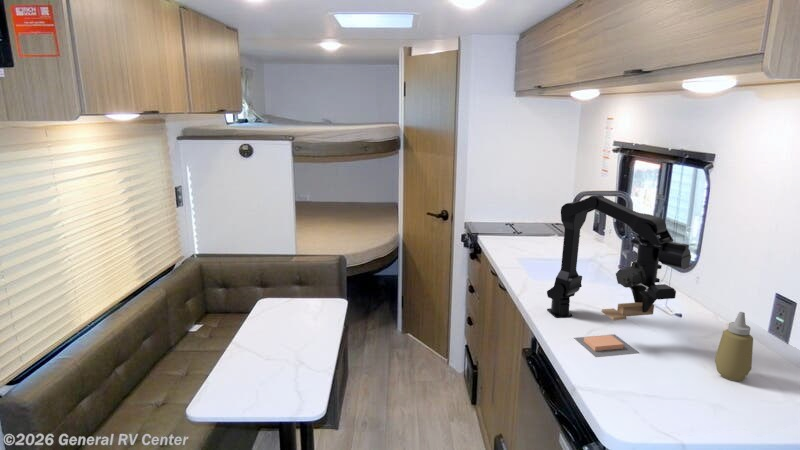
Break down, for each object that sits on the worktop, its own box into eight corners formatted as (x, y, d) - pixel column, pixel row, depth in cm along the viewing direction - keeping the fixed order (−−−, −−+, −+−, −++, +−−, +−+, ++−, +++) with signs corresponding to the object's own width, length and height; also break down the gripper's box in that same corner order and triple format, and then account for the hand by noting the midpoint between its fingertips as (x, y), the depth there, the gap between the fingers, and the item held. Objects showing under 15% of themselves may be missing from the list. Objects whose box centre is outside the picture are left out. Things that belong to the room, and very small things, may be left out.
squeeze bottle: (705, 370, 127) (715, 309, 123) (726, 365, 129) (736, 304, 125) (735, 386, 119) (747, 321, 115) (756, 380, 122) (769, 316, 118)
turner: (601, 311, 141) (602, 302, 140) (643, 308, 143) (644, 299, 142) (613, 320, 135) (614, 310, 134) (656, 316, 137) (658, 307, 136)
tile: (610, 339, 143) (583, 341, 142) (611, 334, 143) (584, 337, 141) (623, 349, 137) (594, 351, 136) (623, 344, 137) (595, 346, 135)
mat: (573, 339, 144) (573, 337, 144) (614, 336, 147) (614, 334, 146) (595, 359, 133) (595, 357, 133) (639, 354, 135) (640, 353, 135)
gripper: (603, 252, 143) (598, 300, 147) (643, 272, 126) (637, 325, 129) (636, 250, 145) (630, 297, 149) (680, 269, 127) (673, 322, 131)
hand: (641, 310), depth 139 cm, fingers closed on turner, 3 cm apart
